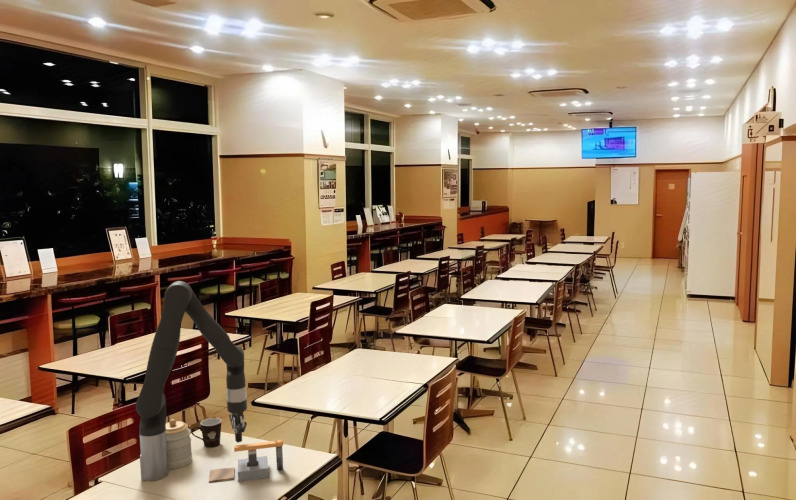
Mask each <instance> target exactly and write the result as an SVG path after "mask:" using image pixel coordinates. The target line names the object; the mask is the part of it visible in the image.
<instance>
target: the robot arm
mask: <svg viewBox="0 0 796 500" xmlns="http://www.w3.org/2000/svg"><path fill="white" fill-rule="evenodd" d="M163 296H164V297H163V304H162V311H161V316H160V319H159V323H158V325H157V328H156V331H155V333H154V337H153V340H152V342H151V343H152V344H151V347H150V351H149V356H148V360H147V365H146V372H145V376H144V381H143V383H142V386H141V389H140V392H139V395H138V398H137V399H136V403H135V410H136V413H137V414H138V416H140V421H139V428H138V429H139V431H138V432H139V445H140V454H139V465H140V479H141V481H146V482H152V481H154V482H155V481H158V480H162V479H164V478H166V477H167V476H168V475H169V469H168V457H167V441H166V423H167V401H166V396H165V393H164V389H165V384H166V382H167V380H168V377H169V376H170V373H171V370H172V368H173V366H174V363H175V360H176V357H177V354H178V350H179V346H180V345H179V344H180V339H181V329H182V326H181V325H182V321H183V318H184V315H185V313H186V314H187V315H188V317H189V318H190V319H191V320H192V321H193V323H194V325H195V326H196V327H197V329H198V331H199V332H200V334H201V335H202V337H204V339H205V340H206V341H207V342H208V343H209V344H210V345H211V346H212V347H213V348H214V350H215V351H216V352H217V354H218V355H219V357H220V358H221V359H222V361H223V362H224V363H225V365H226V383H225V384H226V393H225V394H226V411H227V412H228V413H230V414H229V415H228V417H229V420H230V425H231V428H232V430H233V432H234V437H235V439H234V441H235V442H236V443H241V442H242V441H243V433H244V432H245V431H246V428H247V421H244V420H245V415H244V412H246V411H247V410H248V400H247V399H248V397H247V395H248V394H247V389H246V376H245V375H246V374H245V351H244V350H243V348H242V347H241V346H239V345H235V344H234V342H232V340H231V338H230V335H229V334H228V333H227V332H226V331H225V329H224V328H223V327H222V326H221V325H220V324H219V322H217V321H216V319H214V318H213V316H212V315H211V314H210V313H209V312H208V311H207V309H206V308H205V307H204V306H203V304H202V303H201V301H200V300H199V299H198V297H197V295H196V294H195V292H194V291H193V289H192V287H191V286H190V284H188V283H187V282H185V281H181V280H177V281H174V282H172V283H171V284H170V285H169V286H168V287H167V288H166V290H165V292H164V295H163Z"/></svg>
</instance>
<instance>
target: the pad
mask: <svg viewBox="0 0 796 500" xmlns="http://www.w3.org/2000/svg"><path fill="white" fill-rule="evenodd" d="M232 480H235V467H234V466H233V467H226V468H218V469H210V471H209V478H208V483H215V482H222V481H232Z"/></svg>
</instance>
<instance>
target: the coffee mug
mask: <svg viewBox="0 0 796 500" xmlns="http://www.w3.org/2000/svg"><path fill="white" fill-rule="evenodd" d="M199 424H200V426H194V427H192V428H191V429H190V430H191V433H190V434H192V436H193V437H195V438H197V439H199V440H201V441H202V442H203V446H204V447H205V448H208V449H212V448H217V447H218V446H220V445H221V437H222V436H221V431H222V419H221V418H219V417H210V418H206V419H203V420H201V422H200V423H199ZM195 429H199V431H200V432H201V436H202V437H200V436H198V435H195V434H194V432H193V430H195Z"/></svg>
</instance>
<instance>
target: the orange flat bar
mask: <svg viewBox="0 0 796 500" xmlns="http://www.w3.org/2000/svg"><path fill="white" fill-rule="evenodd" d="M281 446H282V447H283V446H284V440H282V439H277V440H271V441H264V442H255V443H246V444H245V443H244V444H237V445H234V446H233V449H234V450H233V451H234V453H235V452H243V451H244V452H245V451H248V450H254V449H256V450H261V449H268V448H270V449H271V448H276V447H281Z"/></svg>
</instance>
